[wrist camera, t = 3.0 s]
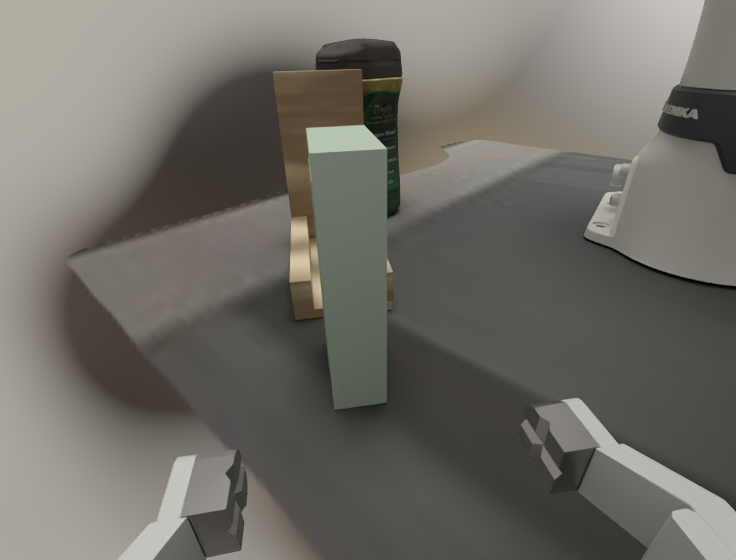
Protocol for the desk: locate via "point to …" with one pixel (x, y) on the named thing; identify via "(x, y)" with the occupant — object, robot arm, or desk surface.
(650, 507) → the robot arm
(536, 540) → the desk surface
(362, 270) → the mint green rectangular block
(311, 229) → the track
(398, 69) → the coffee jar
